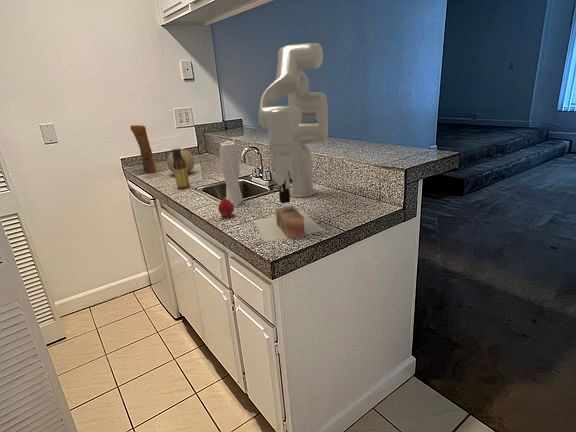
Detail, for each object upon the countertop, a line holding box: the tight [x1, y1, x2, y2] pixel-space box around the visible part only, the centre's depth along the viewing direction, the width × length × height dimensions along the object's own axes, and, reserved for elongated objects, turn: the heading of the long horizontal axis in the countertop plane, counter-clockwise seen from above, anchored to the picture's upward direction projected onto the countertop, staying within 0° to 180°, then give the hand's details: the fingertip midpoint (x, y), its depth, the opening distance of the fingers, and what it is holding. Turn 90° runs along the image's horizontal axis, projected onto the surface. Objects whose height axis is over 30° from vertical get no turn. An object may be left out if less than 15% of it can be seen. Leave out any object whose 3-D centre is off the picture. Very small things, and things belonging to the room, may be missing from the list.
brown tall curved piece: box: [129, 124, 158, 174], centre depth 215 cm, size 7×19×28 cm, turn 39°
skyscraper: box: [219, 137, 244, 206], centre depth 149 cm, size 8×8×28 cm
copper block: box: [275, 205, 306, 239], centre depth 121 cm, size 6×6×12 cm
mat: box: [252, 211, 325, 243], centre depth 126 cm, size 20×20×1 cm
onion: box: [218, 197, 235, 218], centre depth 136 cm, size 6×6×8 cm
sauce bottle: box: [171, 147, 190, 190], centre depth 177 cm, size 7×6×20 cm
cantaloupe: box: [166, 148, 195, 174], centre depth 205 cm, size 15×15×15 cm
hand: (285, 201), depth 122 cm, fingers closed
